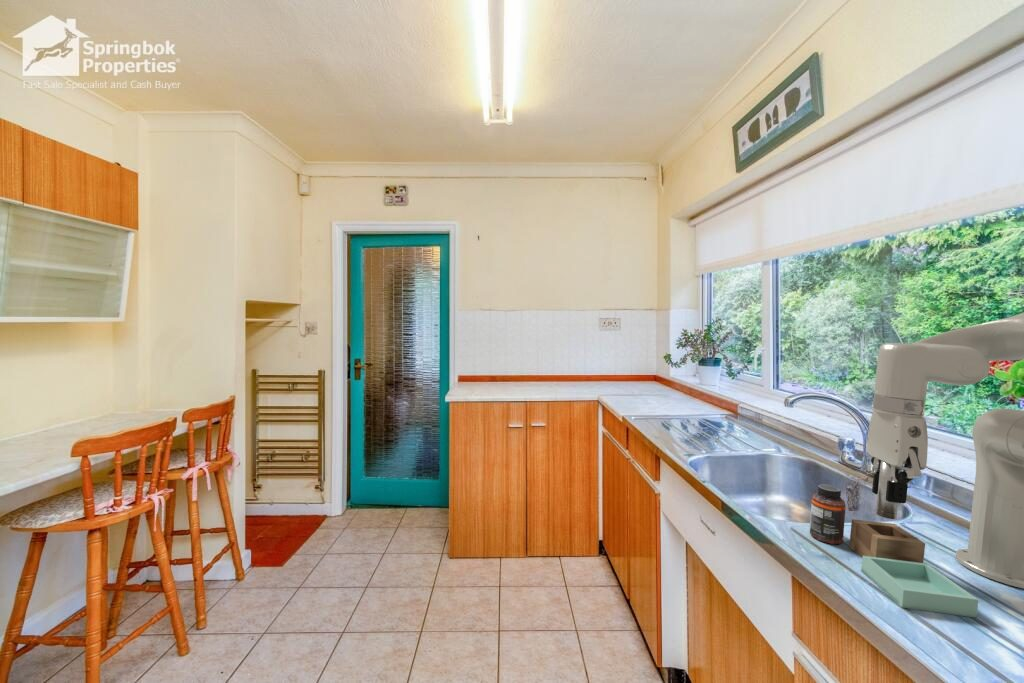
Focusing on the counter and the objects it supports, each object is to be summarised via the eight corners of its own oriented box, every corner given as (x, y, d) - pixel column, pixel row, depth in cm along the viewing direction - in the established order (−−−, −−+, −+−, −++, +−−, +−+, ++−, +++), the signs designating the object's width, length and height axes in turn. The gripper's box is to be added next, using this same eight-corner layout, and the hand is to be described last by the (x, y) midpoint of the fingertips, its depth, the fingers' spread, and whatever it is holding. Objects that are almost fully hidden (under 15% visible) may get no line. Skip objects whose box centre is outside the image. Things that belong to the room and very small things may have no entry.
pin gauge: (889, 513, 87) (895, 454, 86) (900, 520, 84) (907, 459, 83) (871, 510, 87) (877, 452, 87) (882, 517, 84) (888, 457, 84)
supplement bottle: (831, 533, 97) (835, 483, 96) (849, 546, 91) (854, 494, 90) (803, 530, 97) (807, 481, 97) (819, 544, 91) (823, 491, 91)
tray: (924, 579, 80) (926, 563, 80) (976, 617, 69) (978, 599, 69) (861, 571, 82) (862, 555, 81) (902, 607, 71) (903, 589, 71)
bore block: (892, 552, 89) (894, 523, 89) (922, 574, 81) (925, 543, 81) (849, 547, 91) (851, 519, 90) (874, 568, 83) (877, 538, 82)
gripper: (955, 417, 76) (944, 519, 77) (890, 400, 92) (881, 484, 93) (907, 413, 77) (896, 513, 78) (851, 397, 93) (842, 480, 94)
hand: (888, 497), depth 85 cm, fingers closed on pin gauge, 3 cm apart
